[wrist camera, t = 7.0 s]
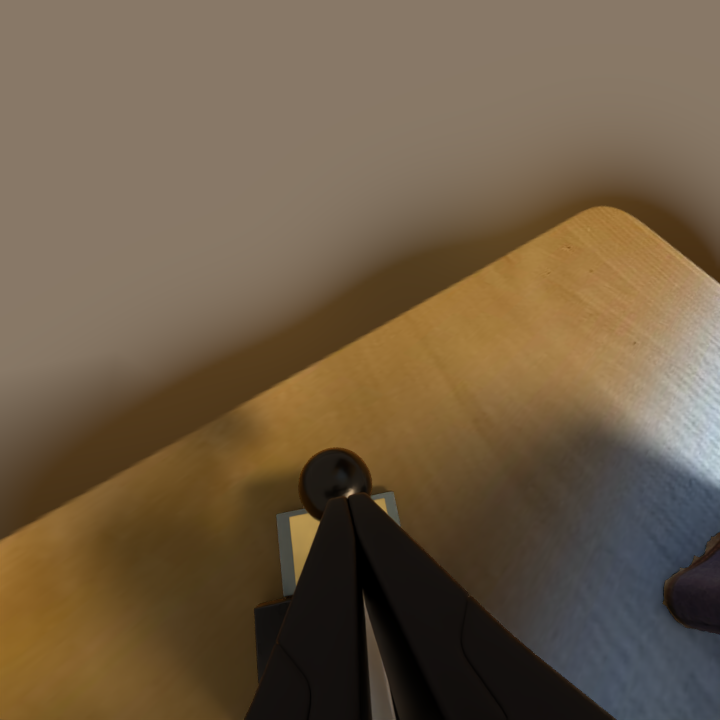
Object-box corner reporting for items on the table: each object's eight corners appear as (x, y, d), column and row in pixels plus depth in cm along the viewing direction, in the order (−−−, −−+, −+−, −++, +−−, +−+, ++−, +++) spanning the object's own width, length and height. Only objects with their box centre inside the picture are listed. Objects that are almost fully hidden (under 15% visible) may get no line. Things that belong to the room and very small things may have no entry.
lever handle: (300, 479, 17) (291, 439, 15) (364, 467, 17) (363, 427, 15) (350, 1043, 7) (343, 1139, 5) (487, 986, 8) (528, 1060, 6)
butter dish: (277, 514, 20) (268, 511, 17) (392, 491, 21) (400, 485, 18) (284, 595, 18) (276, 606, 16) (408, 567, 19) (420, 572, 17)
